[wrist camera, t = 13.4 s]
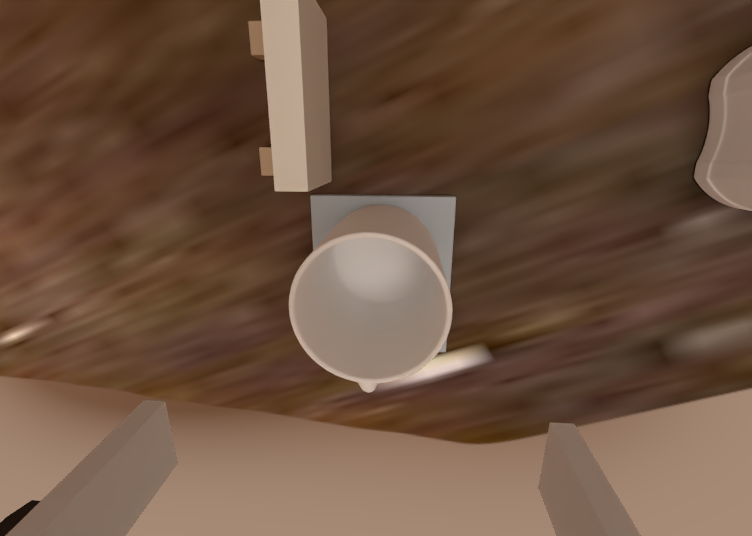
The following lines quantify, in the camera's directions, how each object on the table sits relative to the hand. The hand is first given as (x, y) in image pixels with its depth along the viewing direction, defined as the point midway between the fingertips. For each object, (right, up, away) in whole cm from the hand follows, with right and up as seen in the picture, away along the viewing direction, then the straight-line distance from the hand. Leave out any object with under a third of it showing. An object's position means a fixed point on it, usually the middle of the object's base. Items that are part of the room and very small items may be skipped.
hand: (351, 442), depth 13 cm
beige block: (-5, +18, +15) cm, 24 cm away
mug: (+1, +5, +18) cm, 18 cm away
